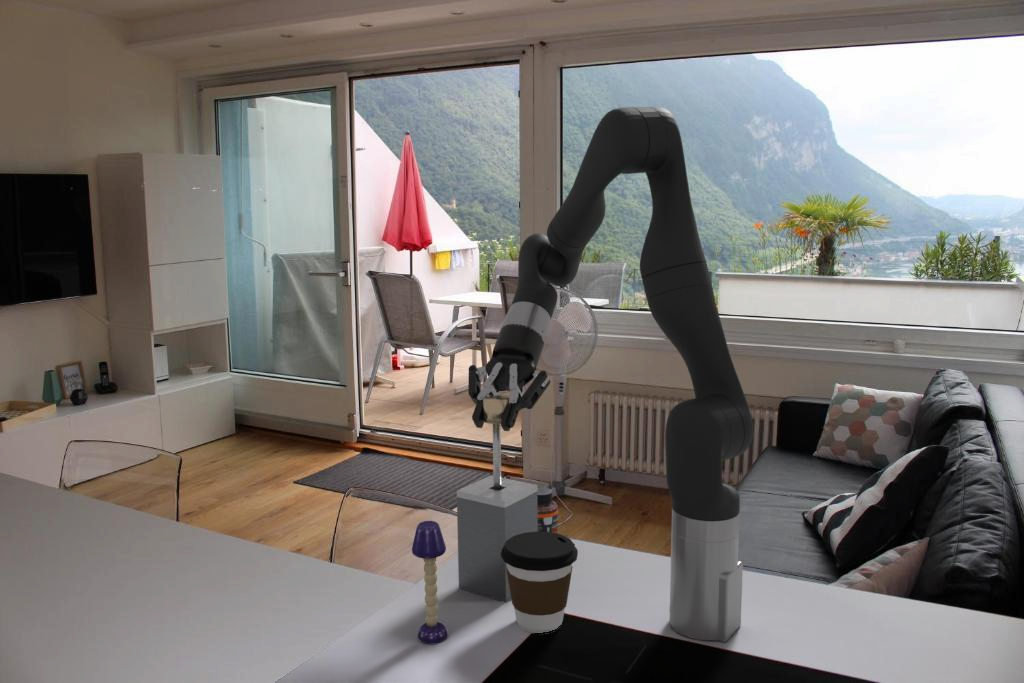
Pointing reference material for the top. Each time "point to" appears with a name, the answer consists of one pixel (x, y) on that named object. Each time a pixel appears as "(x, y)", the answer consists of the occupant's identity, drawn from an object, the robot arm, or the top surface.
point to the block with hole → (491, 532)
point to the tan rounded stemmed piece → (495, 430)
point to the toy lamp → (430, 578)
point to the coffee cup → (539, 578)
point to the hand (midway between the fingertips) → (491, 426)
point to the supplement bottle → (547, 511)
